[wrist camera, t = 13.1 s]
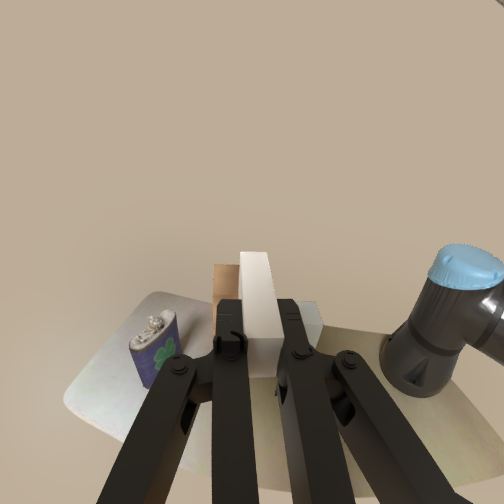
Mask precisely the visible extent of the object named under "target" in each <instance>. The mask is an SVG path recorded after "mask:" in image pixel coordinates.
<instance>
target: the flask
mask: <svg viewBox="0 0 504 504" xmlns="http://www.w3.org/2000/svg"><path fill="white" fill-rule="evenodd" d="M149 318H150V319H151V320H150V323H149V325H148V327H147V329H145V330H144V331H143V332H142V333H141V334H138V335H136V336H135V337H133V339H131V341H130V344H129V350H130V352H131V354H132V358H133V360H134V363H135V366H136V368H137V371H138V374H139V376H140V379H141V381H142V383H143V387H145V388H147V389H150V388H151V386H152V384H153V382H154V380H155V378H156V376H157V374H158V372H159V370H160V368H161V366H162V364H163V362H164V361H165V360H166V359H167V358H168V357H170V356H172V355H175V354H181V347H180V342H179V336H178V328H177V320H176V313H175V312H174V311H173V310H164V311H162V312H161V313H160V314H159V316H158V317H157V319H156V318H154V316H153V315H152V316H150V317H148V319H149Z"/></svg>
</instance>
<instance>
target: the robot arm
mask: <svg viewBox="0 0 504 504" xmlns="http://www.w3.org/2000/svg"><path fill="white" fill-rule="evenodd" d="M496 1H497V2H498V3H499V4H501V5H502V6H503V7H504V0H496ZM238 291H239V299H221V300H220V302H219V303H218V305H217V312H216V331H215V336H214V339H213V350H212V351H211V352H210V353H209V354H207V355H206V356H203V357H200V358H196V359H192V358H191V357H189V356H187V355H185V354H175V355H172V356H170V357H168V358H167V359H166V360H165V361H164V362H163V364H162V366H161V368H160V370H159V372H158V374H157V376H156V378H155V380H154V382H153V384H152V386H151V388H150V390H149V392H148V394H147V396H146V398H145V400H144V402H143V404H142V406H141V408H140V410H139V412H138V414H137V416H136V419H135V421H134V423H133V425H132V427H131V429H130V431H129V433H128V435H127V437H126V439H125V442H124V444H123V446H122V448H121V450H120V452H119V454H118V456H117V459H116V461H115V463H114V465H113V467H112V469H111V472H110V474H109V476H108V478H107V480H106V483H105V485H104V487H103V490H102V492H101V494H100V496H99V498H98V501H97V503H96V504H165V502H166V499H167V496H168V494H169V491H170V488H171V485H172V482H173V480H174V477H175V474H176V471H177V468H178V465H179V463H180V460H181V457H182V454H183V451H184V449H185V446H186V443H187V440H188V437H189V435H190V432H191V429H192V426H193V423H194V420H195V418H196V415H197V412H198V409H199V406H200V404H201V403H204V402H208V401H212V504H259V495H258V484H257V473H256V461H255V450H254V438H253V425H252V413H251V400H250V386H249V378H268V377H276V373H277V375H278V383H277V386H276V390H275V396H277V394H278V399H279V406H280V413H281V420H282V427H283V434H284V441H285V448H286V456H287V463H288V470H289V477H290V484H291V492H292V499H293V504H356V503H355V499H354V494H353V490H352V485H351V481H350V477H349V473H348V468H347V464H346V460H345V456H344V452H343V448H342V444H341V440H340V436H339V432H340V434H341V436H342V438H343V439H344V441H345V443H346V445H347V446H348V448H349V450H350V452H351V453H352V455H353V457H354V459H355V461H356V462H357V464H358V466H359V468H360V469H361V471H362V473H363V475H364V476H365V478H366V480H367V482H368V483H369V485H370V487H371V488H372V490H373V492H374V494H375V495H376V497H377V499H378V501H379V502H380V504H473V503H471V502H470V501H468V500H466V499H465V498H463V497H462V496H460V495H459V494H457V493H455V492H454V490H453V488H452V487H451V485H450V484H449V482H448V481H447V479H446V477H445V476H444V474H443V473H442V471H441V470H440V468H439V467H438V465H437V464H436V462H435V461H434V459H433V458H432V456H431V455H430V453H429V452H428V450H427V449H426V447H425V446H424V444H423V443H422V441H421V440H420V438H419V437H418V435H417V434H416V433H415V431H414V430H413V428H412V427H411V425H410V424H409V422H408V421H407V419H406V418H405V417H404V415H403V414H402V412H401V411H400V409H399V408H398V407H397V405H396V404H395V402H394V401H393V399H392V398H391V397H390V395H389V394H388V392H387V391H386V390H385V388H384V387H383V385H382V384H381V383H380V381H379V380H378V378H377V377H376V376H375V374H374V373H373V371H372V370H371V369H370V367H369V366H368V364H367V363H366V362H365V360H364V359H363V358H362V357H361V356H360V355H359V354H358V353H356V352H354V351H350V350H345V351H341V352H339V353H338V354H337V356H331V355H326V354H322V353H319V352H317V351H316V350H315V348H314V347H313V346H312V345H310V343H309V341H308V337H307V334H306V330H305V327H304V323H303V321H302V317H301V314H300V310H299V306H298V305H297V304H296V302H295V301H294V300H293V299H276V294H275V290H274V285H273V280H272V275H271V271H270V267H269V262H268V257H267V252H240V268H239V289H238ZM466 343H467V344H469V345H471V346H472V347H474V348H476V349H477V350H479V351H481V352H482V353H484V354H486V355H487V356H489V357H490V358H492V359H494V360H495V361H497V362H498V363H500V364H501V365H503V366H504V264H503V263H502V262H501V261H500V260H499V259H498V258H496V257H494V256H493V255H492V254H490V253H489V252H487V251H485V250H482V249H479V248H477V247H474V246H470V245H465V244H450V245H447V246H444V247H443V248H442V249H440V251H439V252H438V254H437V256H436V259H435V260H434V263H433V265H432V267H431V268H430V269H429V271H428V278H427V280H426V282H425V285H424V287H423V289H422V291H421V293H420V295H419V298H418V300H417V302H416V304H415V306H414V308H413V310H412V312H411V314H410V316H409V318H408V320H407V321H405V322H404V323H403V324H402V325H401V326H400V327H399V328H398V329H397V330H396V331H395V332H394V333H393V334H391V335H390V336H389V338H388V339H387V340H386V342H385V344H384V346H383V348H382V350H381V352H380V365H381V368H382V371H383V373H384V375H385V377H386V378H387V379H388V381H389V382H390V383H391V384H392V385H393V386H394V387H395V388H397V389H398V390H399V391H401V392H403V393H405V394H407V395H409V396H413V397H418V398H427V397H431V396H434V395H436V394H438V393H439V392H440V391H441V390H442V389H443V388H444V387H445V386H446V384H447V383H448V382H449V380H450V379H451V376H452V373H453V370H454V368H455V365H456V362H457V359H458V356H459V353H460V351H461V350H462V349H463V347H464V346H465V344H466ZM338 430H339V432H338Z"/></svg>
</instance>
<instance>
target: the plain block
mask: <svg viewBox="0 0 504 504" xmlns="http://www.w3.org/2000/svg"><path fill="white" fill-rule="evenodd" d="M239 268H240V265H223V264H215V265H214V278H213V339H214V336H215V331H216V312H217V305H218V303H219V302H220V300H221V299H239V291H238V289H239Z"/></svg>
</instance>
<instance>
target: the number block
mask: <svg viewBox="0 0 504 504" xmlns="http://www.w3.org/2000/svg"><path fill="white" fill-rule="evenodd" d="M296 304H297V305H298V306H299V310H300V314H301V317H302V321H303V323H304V327H305V330H306V334H307V337H308V341H309V343H310V345H312V346H313V347H314V348H316V346H317V343H318V340H319V337H320V334H321V331H322V328H323V325H324V324H323V321H322V318H321V316H320V313H319V311H318V308H317V305H316V303H315V302H296Z"/></svg>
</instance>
